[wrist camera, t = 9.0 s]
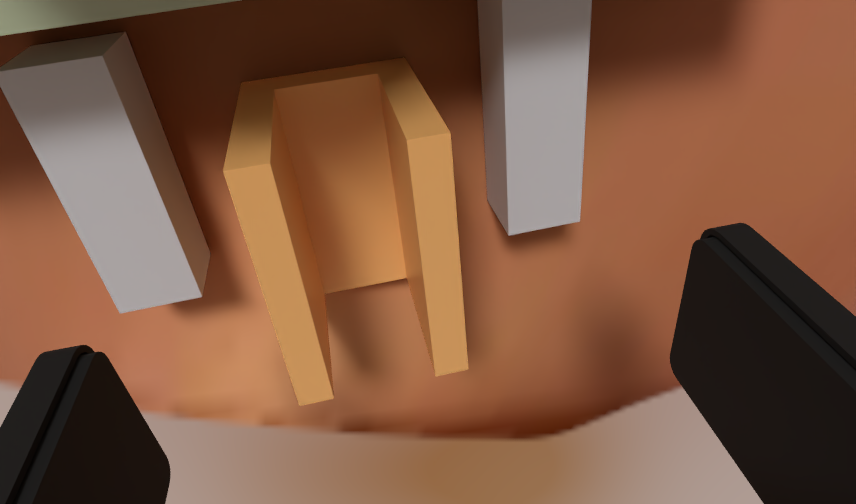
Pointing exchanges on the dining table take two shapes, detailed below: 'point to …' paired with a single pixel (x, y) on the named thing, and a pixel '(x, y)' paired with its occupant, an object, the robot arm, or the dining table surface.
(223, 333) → the dining table surface
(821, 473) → the robot arm
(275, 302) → the chute
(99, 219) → the green plate with pegs
